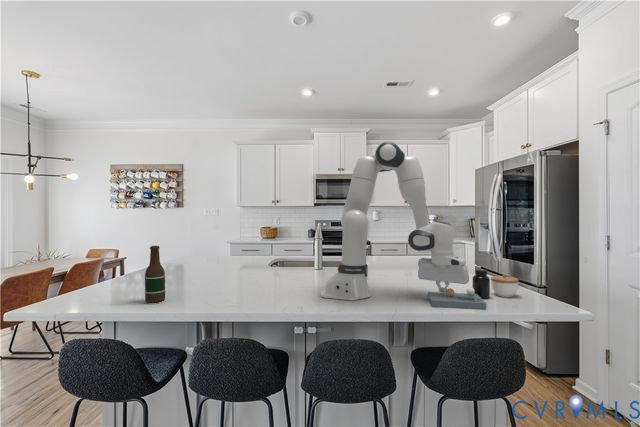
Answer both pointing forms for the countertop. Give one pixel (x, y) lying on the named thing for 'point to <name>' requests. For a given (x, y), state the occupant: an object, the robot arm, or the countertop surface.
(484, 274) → the supplement bottle
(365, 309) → the countertop surface
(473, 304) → the plate
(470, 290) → the cream ball
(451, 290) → the terracotta ball
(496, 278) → the lidded jar
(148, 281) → the beer bottle
